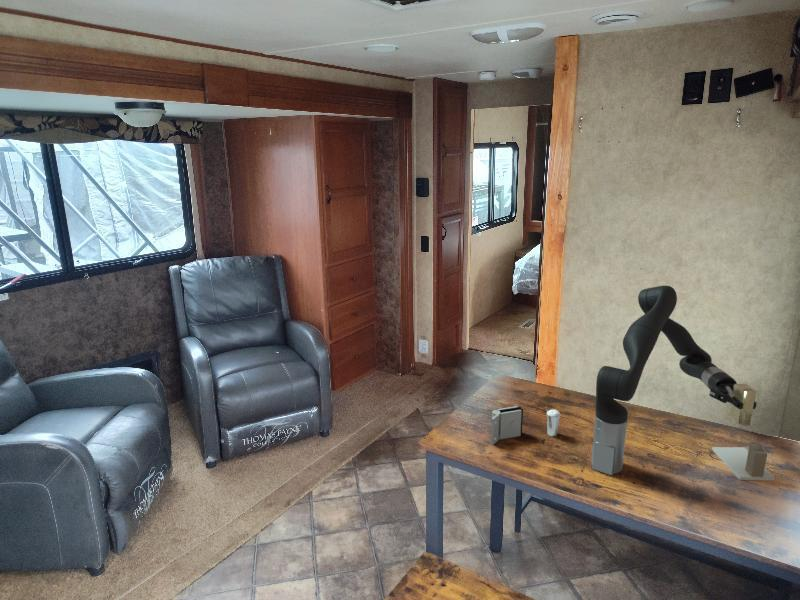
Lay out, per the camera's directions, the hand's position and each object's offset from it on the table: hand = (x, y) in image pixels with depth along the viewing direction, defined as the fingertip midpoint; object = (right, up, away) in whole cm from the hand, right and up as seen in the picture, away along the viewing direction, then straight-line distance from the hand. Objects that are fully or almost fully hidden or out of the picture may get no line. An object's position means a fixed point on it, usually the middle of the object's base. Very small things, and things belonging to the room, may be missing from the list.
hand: (747, 406), depth 163 cm
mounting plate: (+1, -19, +5) cm, 20 cm away
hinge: (-70, -16, +24) cm, 76 cm away
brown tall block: (0, -5, +5) cm, 7 cm away
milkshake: (-53, -15, +26) cm, 61 cm away
